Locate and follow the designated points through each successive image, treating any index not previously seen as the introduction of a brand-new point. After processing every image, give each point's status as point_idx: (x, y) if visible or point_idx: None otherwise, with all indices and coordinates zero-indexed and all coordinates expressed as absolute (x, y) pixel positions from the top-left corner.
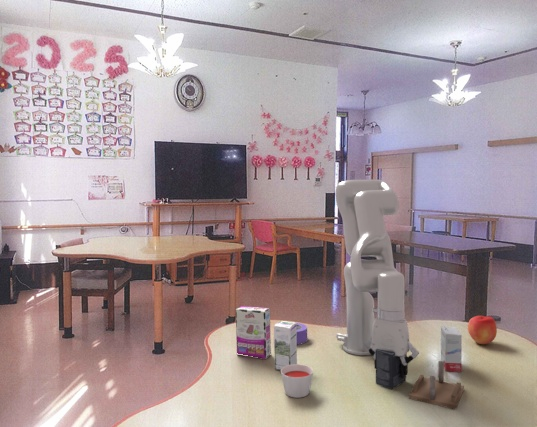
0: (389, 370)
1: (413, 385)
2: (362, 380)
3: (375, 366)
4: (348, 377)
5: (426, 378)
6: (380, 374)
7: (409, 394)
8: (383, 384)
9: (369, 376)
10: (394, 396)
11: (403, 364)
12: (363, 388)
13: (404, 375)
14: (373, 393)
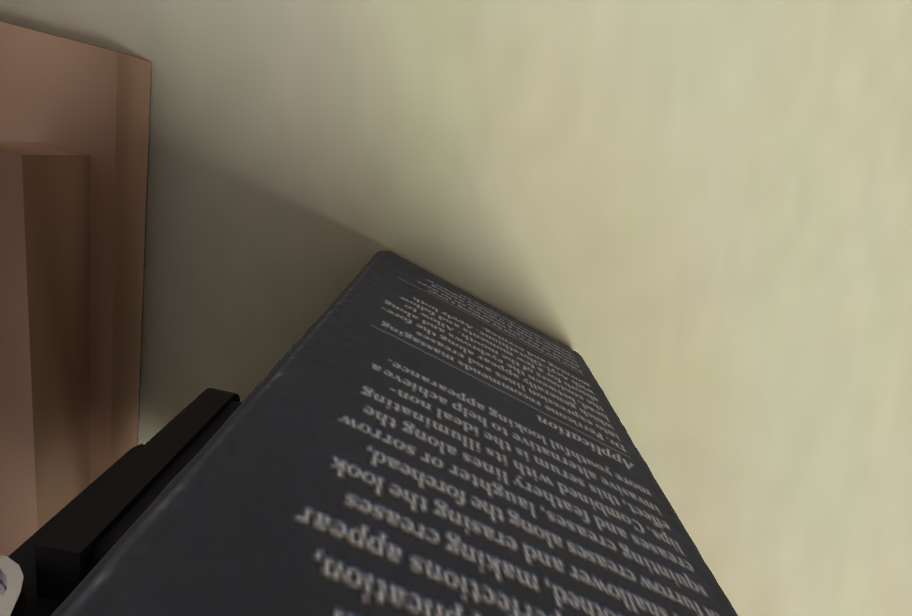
0: (368, 356)
1: (25, 213)
2: (732, 402)
3: None
4: (893, 435)
5: None
6: (547, 385)
7: (109, 60)
8: (489, 308)
9: None
10: (334, 65)
11: (10, 578)
12: (736, 191)
13: None
14: (609, 75)
